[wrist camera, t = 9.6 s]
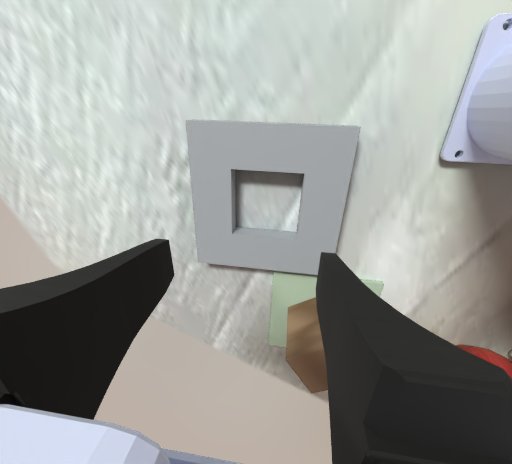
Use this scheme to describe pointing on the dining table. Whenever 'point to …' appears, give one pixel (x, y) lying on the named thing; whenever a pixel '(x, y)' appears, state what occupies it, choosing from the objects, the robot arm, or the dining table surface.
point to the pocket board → (274, 160)
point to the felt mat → (295, 300)
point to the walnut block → (306, 345)
